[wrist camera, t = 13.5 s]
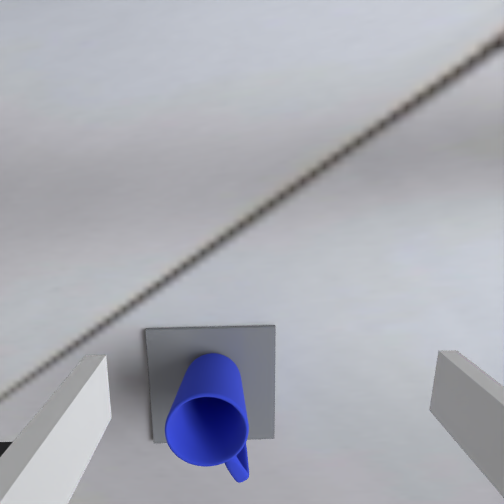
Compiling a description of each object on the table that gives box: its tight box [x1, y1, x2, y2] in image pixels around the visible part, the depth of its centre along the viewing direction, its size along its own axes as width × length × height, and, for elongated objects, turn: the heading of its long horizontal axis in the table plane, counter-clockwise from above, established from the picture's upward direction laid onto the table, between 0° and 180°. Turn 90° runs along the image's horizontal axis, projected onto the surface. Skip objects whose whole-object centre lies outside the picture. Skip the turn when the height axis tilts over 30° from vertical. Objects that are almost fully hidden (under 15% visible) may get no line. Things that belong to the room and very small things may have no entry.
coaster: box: [146, 325, 275, 443], centre depth 42 cm, size 16×16×1 cm
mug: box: [165, 353, 249, 482], centre depth 37 cm, size 8×12×10 cm
